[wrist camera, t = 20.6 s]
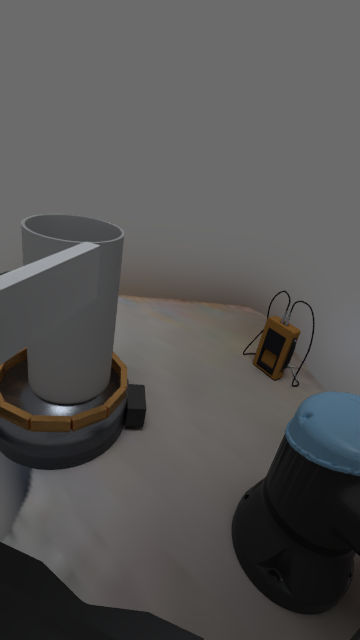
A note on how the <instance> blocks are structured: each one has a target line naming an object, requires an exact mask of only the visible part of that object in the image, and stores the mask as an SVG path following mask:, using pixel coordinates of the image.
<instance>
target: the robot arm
mask: <svg viewBox="0 0 360 640" xmlns="http://www.w3.org/2000/svg"><path fill="white" fill-rule="evenodd" d="M99 259H100V245H97V244H93V243H90V242H84V243H81V244H79V245H76V246H74V247H71V248H68V249H66V250H63V251H61V252H58V253H56V254H53V255H51V256H48V257H46V258H43V259H41V260H38V261H36V262H33V263H30V264H28V265H25V266H23V267H20V268H18V269H15V270H13V271H8V272H4V273H2V274H0V365H1V364H3V363H4V362H6V361H7V360H8V359H10V358H11V357H13V356H14V355H16V354H17V353H18V352H20V351H21V350H23V349H24V348H25V347H27V346H28V345H30V344H31V343H33V342H34V341H35V340H37V339H38V338H40V337H41V336H43V335H44V334H45V333H47V332H48V331H50V330H51V329H53V328H54V327H55V326H57V325H58V324H60V323H61V322H63V321H64V320H65V319H67V318H68V317H70V316H71V315H72V314H74V313H75V312H77V311H78V310H80V309H81V308H82V307H84V306H85V305H87V304H88V303H90V302H91V301H92V300H94V299H95V298H97V288H98V274H99ZM232 538H233V544H234V548H235V551H236V554H237V557H238V559H239V561H240V563H241V565H242V567H243V569H244V571H245V572H246V574H247V575H248V577H249V578H250V579H251V581H252V582H253V583H254V584H255V585H256V586H257V588H258V589H259V590H260V591H261V592H262V593H264V594H265V595H266V596H267V597H268V598H270V599H271V600H272V601H274V602H275V603H277V604H279V605H280V606H282V607H284V608H286V609H289V610H291V611H294V612H298V613H303V614H317V613H322V612H325V611H327V610H329V609H331V608H332V607H334V606H335V605H336V604H337V603H338V601H339V600H340V599H341V598H342V597H343V595H344V594H345V593H346V591H347V590H348V588H349V586H350V583H351V580H352V576H353V567H354V561H353V557H354V555H355V552H356V553H357V554H358V555H359V556H360V396H359V395H356V394H351V393H340V392H323V393H318V394H315V395H312V396H310V397H308V398H307V399H306V400H304V401H303V402H302V403H301V405H300V406H299V408H298V410H297V411H296V413H295V415H294V417H293V419H292V420H290V421H289V423H288V425H287V427H286V430H285V435H284V437H283V439H282V441H281V444H280V446H279V448H278V451H277V453H276V455H275V457H274V460H273V462H272V464H271V466H270V469H269V471H268V473H267V475H266V477H265V478H264V479H262V480H261V481H260V482H258V483H257V484H256V485H255V486H253V487H252V488H251V489H249V490H248V491H247V492H246V493H245V494H244V496H243V497H242V498H241V500H240V502H239V504H238V506H237V509H236V511H235V514H234V517H233V522H232ZM0 640H204V639H203V638H201V637H199V636H197V635H195V634H193V633H191V632H189V631H187V630H185V629H182V628H180V627H178V626H176V625H174V624H172V623H170V622H168V621H166V620H164V619H161V618H159V617H157V616H155V615H153V614H151V613H149V612H143V611H135V610H127V609H119V608H112V607H104V606H96V605H89V604H86V603H84V602H83V601H81V600H80V599H79V598H78V597H77V596H76V595H75V594H74V593H73V592H72V591H71V590H70V589H69V588H68V587H67V586H66V585H65V584H64V583H63V582H62V581H61V580H60V579H59V578H58V577H57V576H56V575H55V574H54V573H53V572H52V571H51V570H50V569H49V568H48V567H47V566H46V565H45V564H44V563H43V562H41V561H39V560H37V559H35V558H33V557H31V556H29V555H27V554H25V553H22V552H20V551H18V550H16V549H14V548H12V547H10V546H8V545H6V544H4V543H1V542H0ZM350 640H360V629H359V630H358V631H357V632H356V633H355V634H354V636H353V637H352V638H351V639H350Z"/></svg>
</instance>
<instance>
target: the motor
mask: <svg viewBox="0 0 360 640" xmlns="http://www.w3.org/2000/svg"><path fill="white" fill-rule="evenodd" d="M145 413H146V400H145V386H144V385H134V384H128V379H127V368H126V365H125V364H124V363H123V362H122V361H121V360H120V359H119V358H118V357H117V355H116V354H115V353H114V352H113V353H112V363H111V374H110V381H109V384H108V386H107V387H106V389H105V390H104V391H103V392H102V393H101V394H100V395H98V396H97V397H95V398H93V399H91V400H89V401H86V402H82V403H78V404H57V403H52V402H49V401H46V400H44V399H42V398H40V397H39V396H38V395H36V394H35V393H34V392H33V390H32V389H31V387H30V385H29V381H28V360H27V347H25V348H24V349H23V350H21V351H20V352H18V353H17V354H16V355H14V356H13V357H11V358H10V359H8V360H7V361H6V362H4V363H3V364H1V365H0V451H1V452H2V453H3V454H4V455H5V456H6V457H7V458H9V459H11V460H12V461H14V462H16V463H18V464H20V465H23V466H27V467H30V468H36V469H45V470H55V469H65V468H71V467H74V466H78V465H81V464H84V463H86V462H89V461H91V460H93V459H95V458H97V457H98V456H100V455H101V454H103V453H104V452H105V451H107V450H108V449H109V448H110V447H111V446H112V445H113V444H114V443H115V442H116V440H117V439H118V437H119V436H120V433H121V431H122V429H123V425H124V420H125V426H128V427H143V424H144V419H145Z"/></svg>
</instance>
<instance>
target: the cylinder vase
mask: <svg viewBox="0 0 360 640" xmlns="http://www.w3.org/2000/svg"><path fill="white" fill-rule="evenodd" d="M21 226H22V249H23V266H25V265H28V264H30V263H33V262H36V261H38V260H41V259H43V258H46V257H48V256H51V255H53V254H56V253H58V252H61V251H63V250H66V249H68V248H71V247H74V246H76V245H79V244H81V243H84V242H90V243H93V244H97V245H100V259H99V274H98V288H97V298H95V299H94V300H92V301H91V302H90V303H88V304H87V305H85V306H84V307H82V308H81V309H80V310H78V311H77V312H75V313H74V314H72V315H71V316H70V317H68V318H67V319H65V320H64V321H63V322H61V323H60V324H58V325H57V326H55V327H54V328H53V329H51V330H50V331H48V332H47V333H45V334H44V335H43V336H41V337H40V338H38V339H37V340H35V341H34V342H33V343H31V344H30V345H28V346H27V360H28V381H29V385H30V387H31V389H32V390H33V392H34V393H35V394H36V395H38V396H39V397H40V398H42V399H44V400H46V401H49V402H52V403H57V404H78V403H82V402H86V401H89V400H91V399H93V398H95V397H97V396H98V395H100V394H101V393H102V392H103V391H104V390H105V389H106V387H107V386H108V384H109V381H110V374H111V363H112V353H113V343H114V333H115V323H116V313H117V303H118V293H119V281H120V272H121V262H122V252H123V242H124V231H123V230H122V229H121V228H119V227H118V226H116V225H114V224H112V223H109V222H106V221H103V220H99V219H95V218H90V217H85V216H78V215H69V214H41V215H34V216H30V217H28V218H25V219H24V220H22V222H21Z"/></svg>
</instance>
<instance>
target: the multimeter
mask: <svg viewBox="0 0 360 640" xmlns="http://www.w3.org/2000/svg"><path fill="white" fill-rule="evenodd" d="M281 292H286V291H281ZM281 292H279V293H281ZM279 293H278V294H279ZM286 293H287V292H286ZM278 294H277V295H278ZM277 295H275V297H276V296H277ZM287 295H288V297H289V304H288V307H289V305H290V296H289V294H288V293H287ZM275 297H274V298H275ZM274 298H273V299H272V301H273V300H274ZM272 301H271V303H272ZM297 302H303V303H305V302H304V301H297ZM297 302H295V303H294V304H293V306H292V309H293V307H294V305H295V304H296V303H297ZM271 303H270V306H271ZM305 304H307V303H305ZM307 305H308V304H307ZM270 306H269V309H268V315H267V322H266V325H265V327H264V329H263V330H262V331H261V333H262V332H263V333H262V336H261V339H260V342H259V345H258V348H257V351H256V353H247V354H255V358H254V361H253V364H254V365H255V366H257V367H258V368H260V369H261V370H262V371H264V372H265V373H266V374H267V375H269V376H270V377H271V378H272V379H273V380H276V379H278V378H281V377H283V374H284V371H285V369H286V368H287V367H294V366H290V365H288V364H289V362H290V360H291V357H292V355H293V352H294V349H295V346H296V342H297V339H298V337H299V334H300V330H299V329H297V328H296V327H294V326H292V325H291V324H289V320H290V319H289V318H290V316H291V312H292V309H291V312H290V313H289V316H288V318H287V320H286V321H285V318H286V314H287V310H288V307H287V309H286V312H285V314H284V316H283V318H282V319H281V318H279V317H278V316H273V317H268V316H269V310H270ZM308 306H309V305H308ZM309 307H310V306H309ZM310 309H311V311H312V308H311V307H310ZM312 316H313V332H312V338H311V343H310V346H309V349H308V352H307V354H306V356H305V358H304V360H303V362H302V364H303V363H304V361H305V359H306V357H307V355H308V353H309V350H310V347H311V344H312V339H313V334H314V314H313V311H312ZM261 333H260V334H261ZM260 334H259V335H260ZM259 335H258V336H259ZM258 336H257V337H258ZM257 337H256V338H257ZM256 338H255V339H256ZM255 339H254V340H255ZM254 340H253V341H254ZM253 341H252V342H253ZM252 342H251V343H252ZM251 343H250V344H249V345H248V346H247V348H248V347H249V346H250V345H251ZM247 348H246V349H247ZM246 349H245V350H244V352H245V351H246ZM244 352H243V354H244ZM244 355H246V354H244ZM302 364H301V366H302ZM301 366H300V367H299V369H298V371H297V373H294V371H293V369H292V371H293V375H294V379H293V381H292V386H298V385H299V382H298V378H297V374H298V372H299V370H300V368H301ZM296 368H297V367H296ZM295 379H296V381H297V382H298V385H293V382H294V380H295Z"/></svg>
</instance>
